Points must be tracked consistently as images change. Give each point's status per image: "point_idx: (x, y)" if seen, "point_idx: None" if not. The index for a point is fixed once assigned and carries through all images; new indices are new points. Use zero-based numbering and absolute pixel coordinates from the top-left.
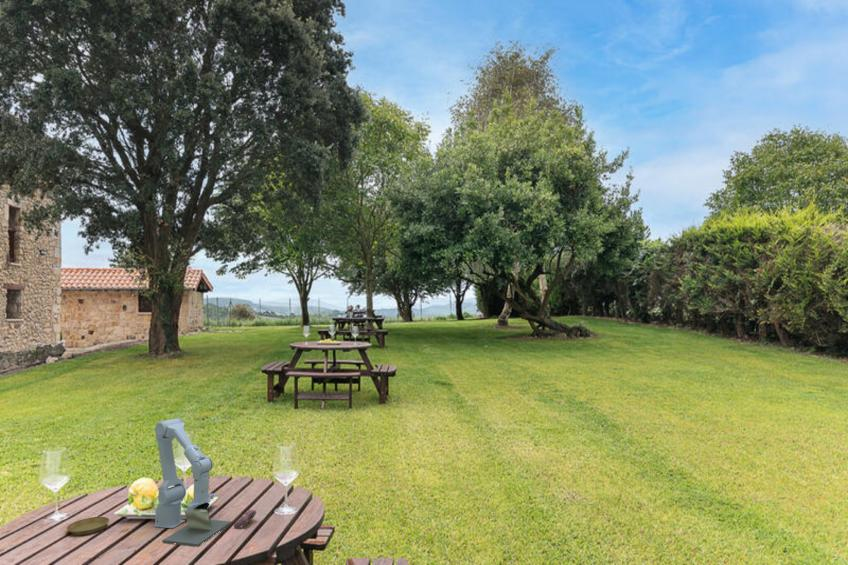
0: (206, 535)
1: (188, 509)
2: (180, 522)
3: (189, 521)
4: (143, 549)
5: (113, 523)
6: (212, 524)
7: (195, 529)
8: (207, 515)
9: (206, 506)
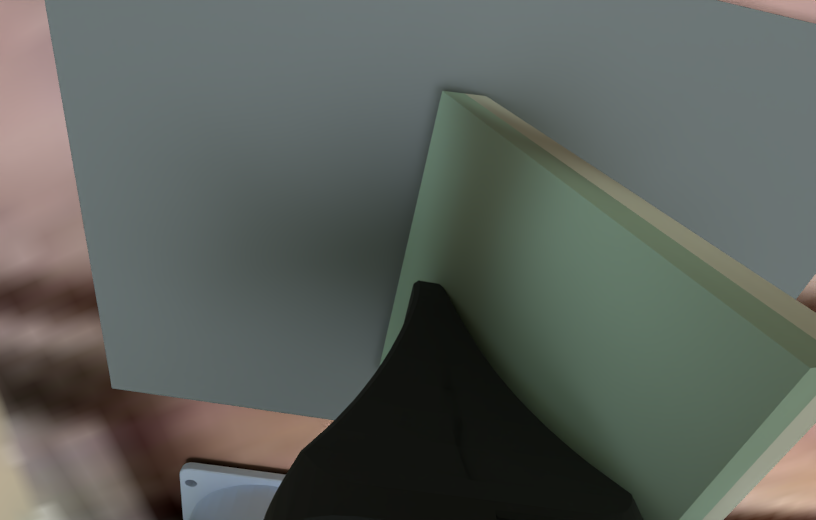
0: (649, 74)
1: None
2: (242, 481)
3: None
4: (753, 504)
5: None
6: (238, 160)
7: None
8: (688, 245)
9: (491, 497)
